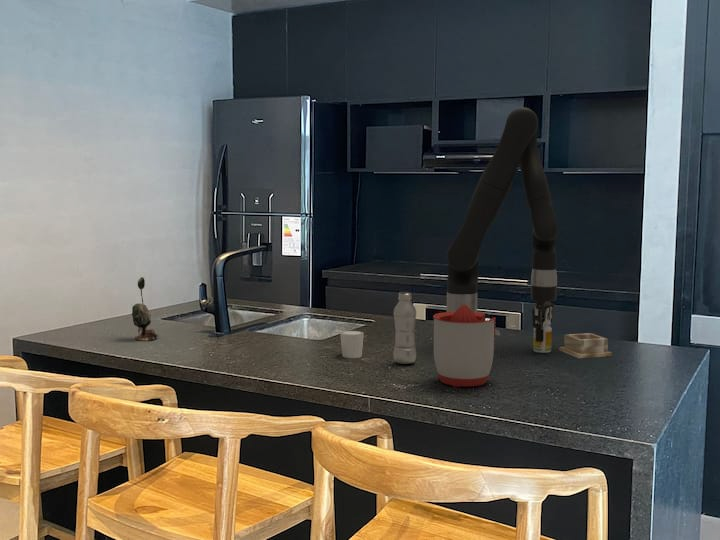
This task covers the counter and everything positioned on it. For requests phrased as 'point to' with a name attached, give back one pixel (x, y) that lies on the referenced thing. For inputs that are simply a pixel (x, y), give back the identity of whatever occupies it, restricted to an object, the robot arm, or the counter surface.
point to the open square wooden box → (585, 345)
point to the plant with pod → (142, 318)
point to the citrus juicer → (463, 347)
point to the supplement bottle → (547, 341)
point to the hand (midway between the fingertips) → (542, 339)
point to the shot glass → (352, 344)
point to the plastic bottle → (404, 329)
